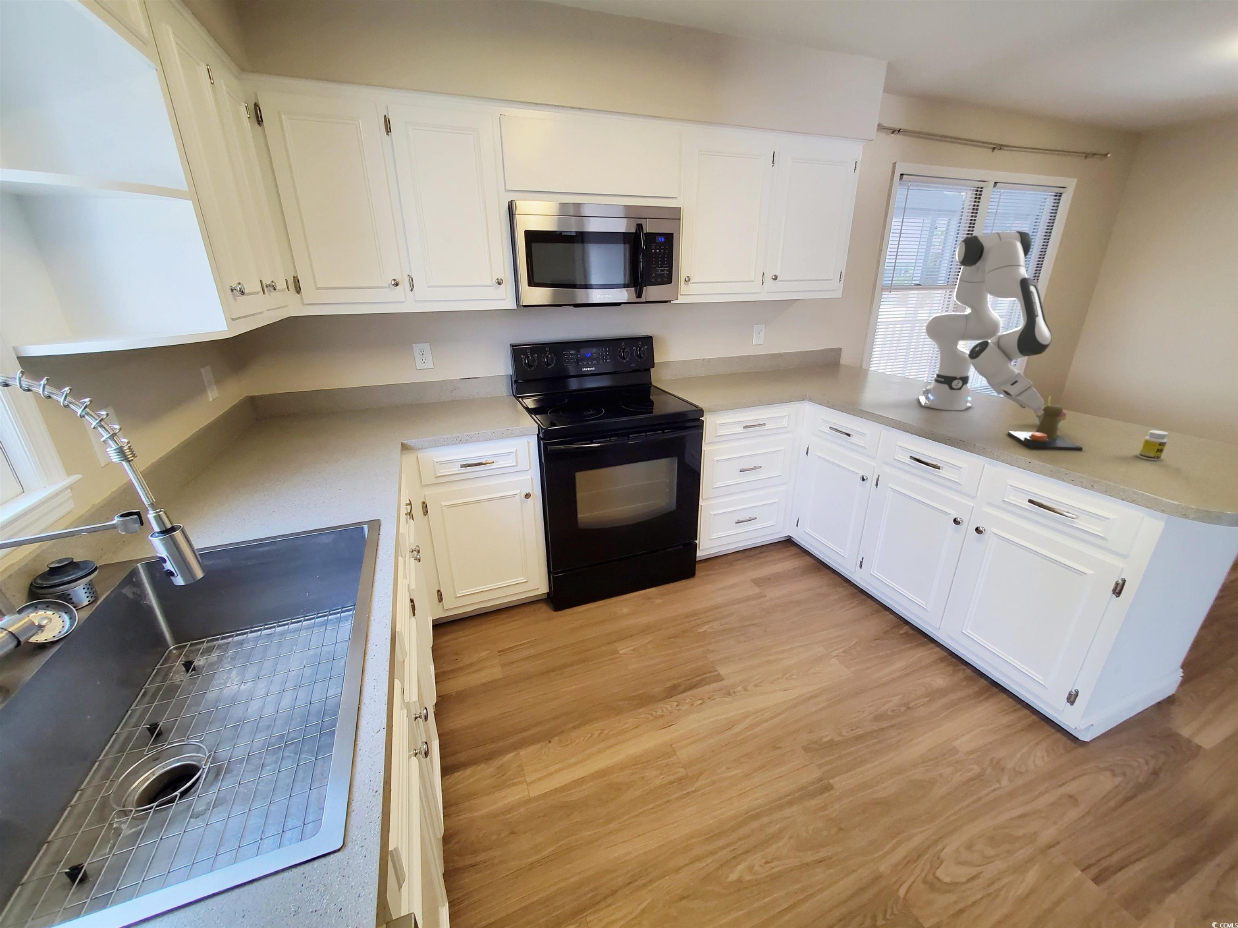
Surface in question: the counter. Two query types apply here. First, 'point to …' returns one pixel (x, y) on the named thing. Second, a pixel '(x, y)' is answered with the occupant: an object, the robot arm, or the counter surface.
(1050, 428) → the cork
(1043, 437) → the tare button
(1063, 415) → the cupcake
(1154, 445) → the supplement bottle
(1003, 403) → the counter surface
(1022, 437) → the scale
